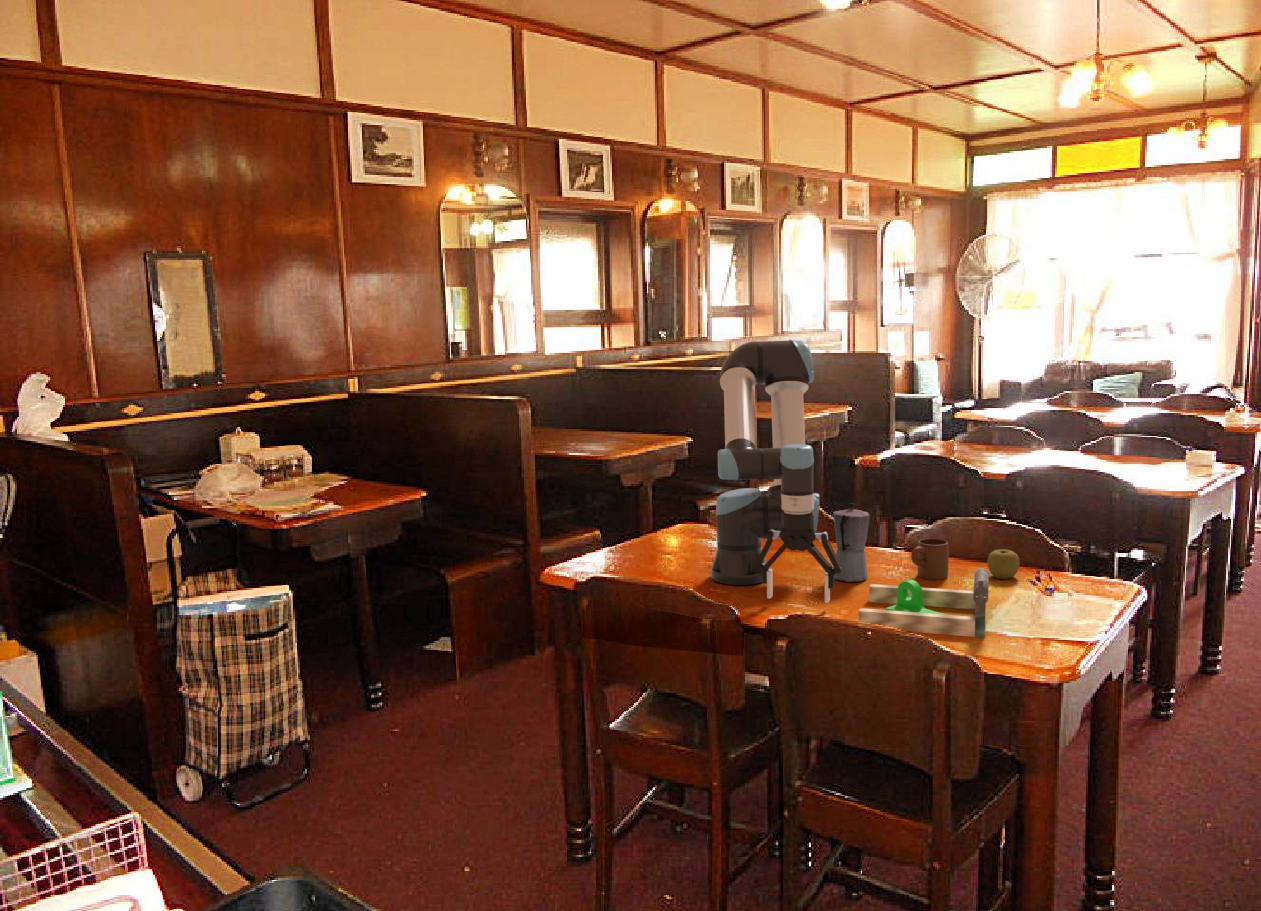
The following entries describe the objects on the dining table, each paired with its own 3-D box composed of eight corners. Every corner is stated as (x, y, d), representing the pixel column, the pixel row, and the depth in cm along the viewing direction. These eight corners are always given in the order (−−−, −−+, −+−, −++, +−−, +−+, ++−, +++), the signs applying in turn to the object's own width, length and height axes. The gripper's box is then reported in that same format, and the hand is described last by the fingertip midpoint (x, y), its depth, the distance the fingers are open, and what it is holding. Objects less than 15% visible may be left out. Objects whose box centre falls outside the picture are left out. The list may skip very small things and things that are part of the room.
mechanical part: (885, 616, 213) (886, 582, 212) (902, 610, 217) (902, 577, 216) (930, 629, 204) (930, 594, 203) (947, 623, 207) (947, 588, 206)
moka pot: (874, 572, 247) (874, 499, 244) (863, 589, 234) (863, 511, 231) (838, 569, 251) (838, 497, 248) (825, 585, 238) (824, 508, 235)
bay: (857, 630, 204) (857, 573, 202) (870, 599, 225) (870, 547, 223) (987, 641, 195) (988, 581, 193) (987, 608, 215) (989, 554, 213)
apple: (982, 579, 238) (982, 552, 237) (994, 572, 244) (995, 545, 243) (1012, 584, 233) (1012, 556, 232) (1024, 577, 239) (1024, 550, 238)
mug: (924, 586, 234) (925, 550, 233) (900, 580, 240) (900, 544, 239) (954, 577, 241) (954, 541, 239) (929, 571, 247) (930, 536, 246)
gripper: (741, 512, 218) (742, 599, 221) (849, 516, 209) (849, 608, 212) (749, 505, 225) (750, 590, 228) (854, 509, 216) (854, 598, 219)
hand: (798, 599), depth 220 cm, fingers open, 13 cm apart
